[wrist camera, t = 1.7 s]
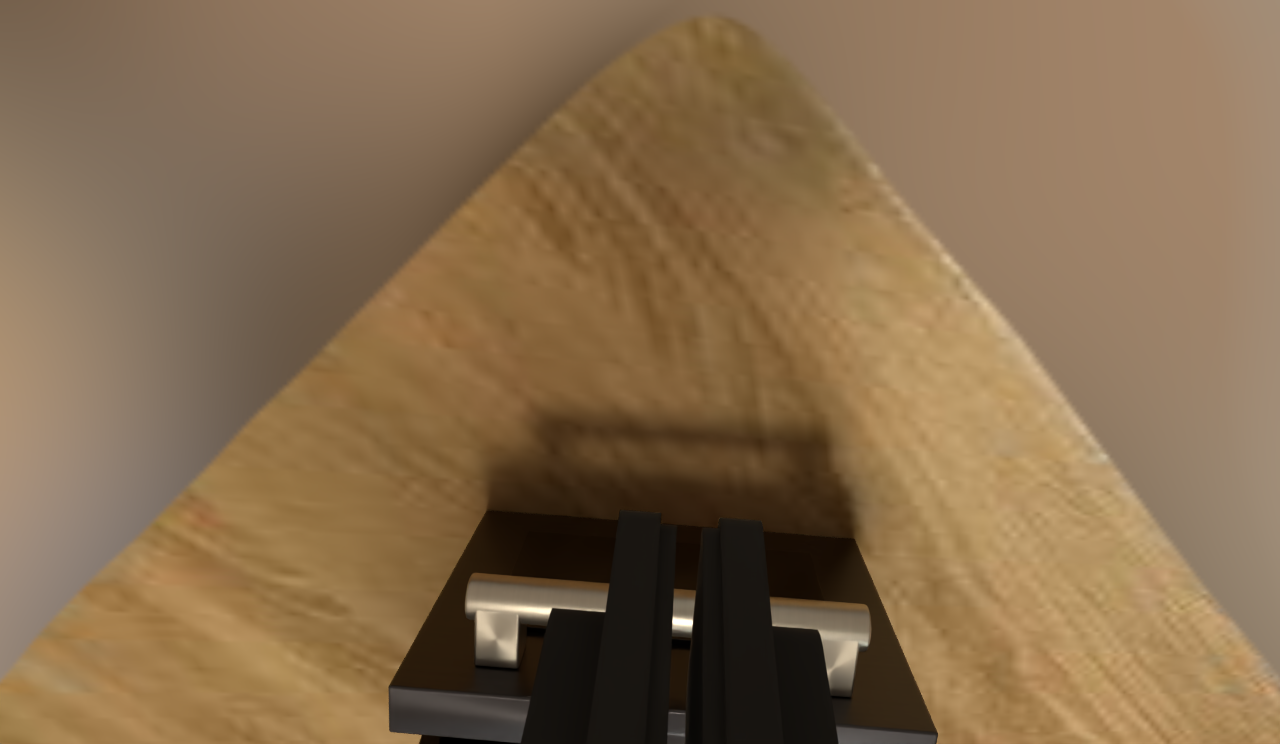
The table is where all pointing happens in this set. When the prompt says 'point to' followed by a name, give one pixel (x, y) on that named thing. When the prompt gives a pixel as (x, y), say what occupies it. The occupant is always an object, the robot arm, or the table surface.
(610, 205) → the table surface
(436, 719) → the oven door
